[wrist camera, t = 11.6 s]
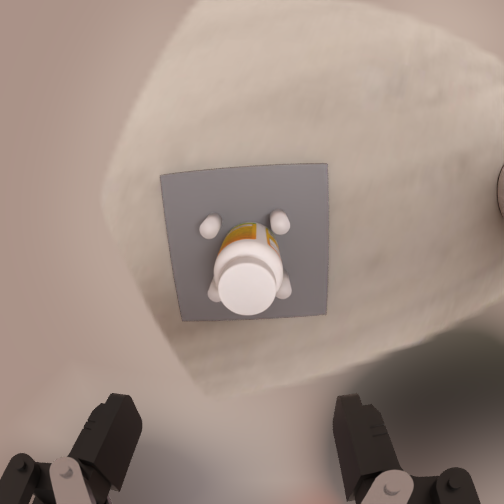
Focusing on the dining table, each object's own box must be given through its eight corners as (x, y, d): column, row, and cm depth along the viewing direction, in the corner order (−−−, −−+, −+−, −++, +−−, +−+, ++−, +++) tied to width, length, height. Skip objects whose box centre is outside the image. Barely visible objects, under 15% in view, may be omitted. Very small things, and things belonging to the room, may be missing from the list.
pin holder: (324, 163, 27) (337, 164, 23) (324, 309, 32) (333, 331, 28) (163, 174, 28) (147, 178, 23) (184, 315, 33) (174, 338, 28)
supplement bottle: (215, 261, 29) (196, 308, 20) (235, 212, 28) (223, 239, 19) (264, 281, 30) (266, 334, 21) (287, 234, 28) (300, 271, 19)
